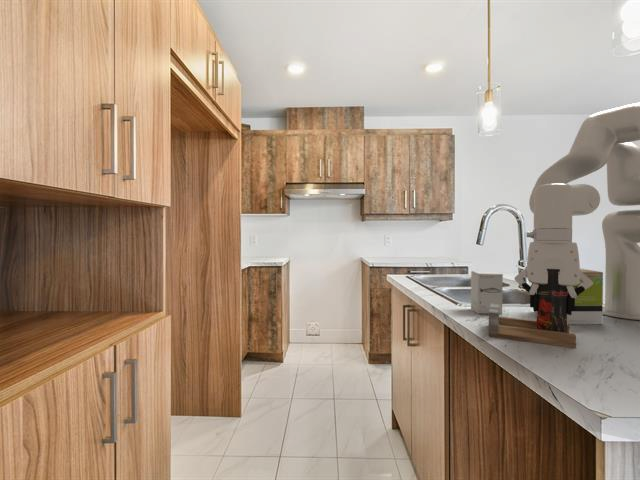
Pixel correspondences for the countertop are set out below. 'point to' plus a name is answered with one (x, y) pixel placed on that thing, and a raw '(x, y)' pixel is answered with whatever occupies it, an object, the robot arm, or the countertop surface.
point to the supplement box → (486, 291)
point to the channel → (526, 330)
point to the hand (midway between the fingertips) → (551, 311)
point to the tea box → (588, 301)
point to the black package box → (552, 304)
